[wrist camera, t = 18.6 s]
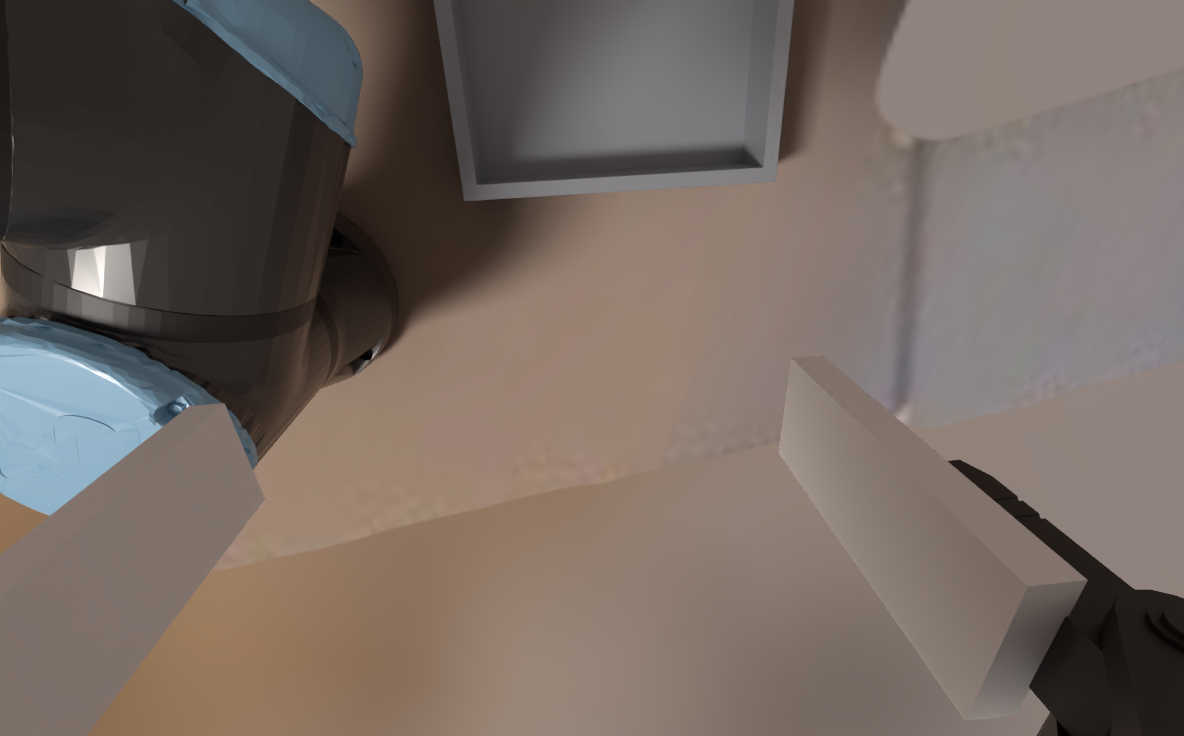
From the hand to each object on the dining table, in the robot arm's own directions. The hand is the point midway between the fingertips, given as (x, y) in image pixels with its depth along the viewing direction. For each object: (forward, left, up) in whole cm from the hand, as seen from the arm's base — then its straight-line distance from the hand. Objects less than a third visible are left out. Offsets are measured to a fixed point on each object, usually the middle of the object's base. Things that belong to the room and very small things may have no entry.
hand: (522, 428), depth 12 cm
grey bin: (+6, +11, -32) cm, 34 cm away
